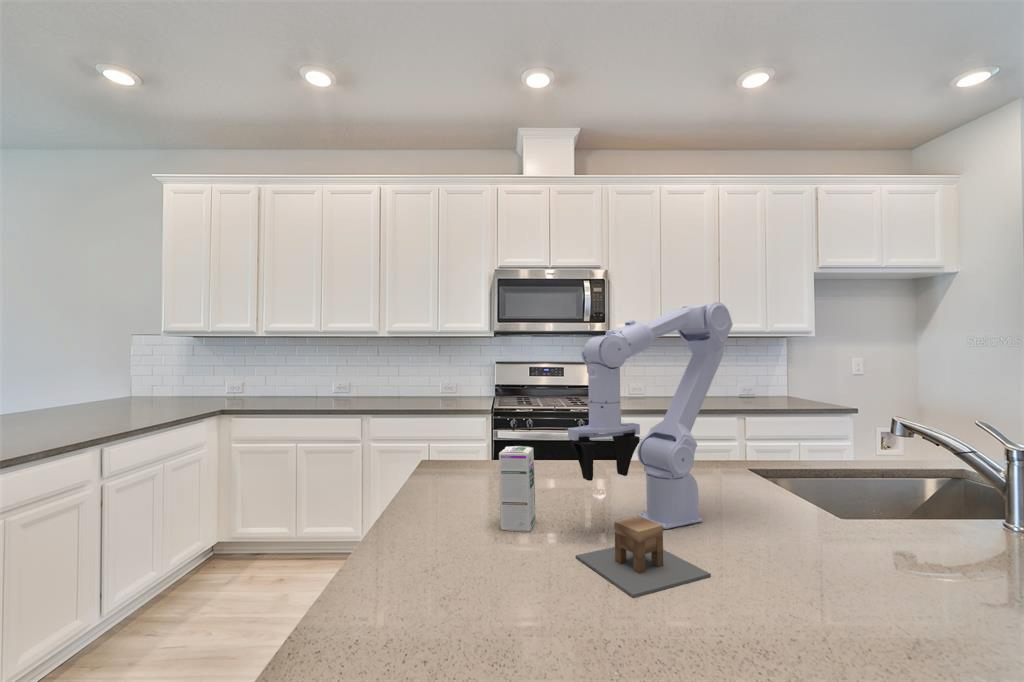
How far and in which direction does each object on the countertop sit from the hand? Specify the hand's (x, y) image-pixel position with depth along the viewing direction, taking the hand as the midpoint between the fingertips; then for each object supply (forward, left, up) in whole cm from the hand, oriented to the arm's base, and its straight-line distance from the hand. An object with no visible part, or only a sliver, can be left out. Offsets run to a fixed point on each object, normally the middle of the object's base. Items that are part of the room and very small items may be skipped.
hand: (605, 477), depth 87 cm
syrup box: (+13, -10, -10) cm, 19 cm away
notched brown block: (+4, +14, -10) cm, 17 cm away
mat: (+4, +14, -10) cm, 18 cm away
